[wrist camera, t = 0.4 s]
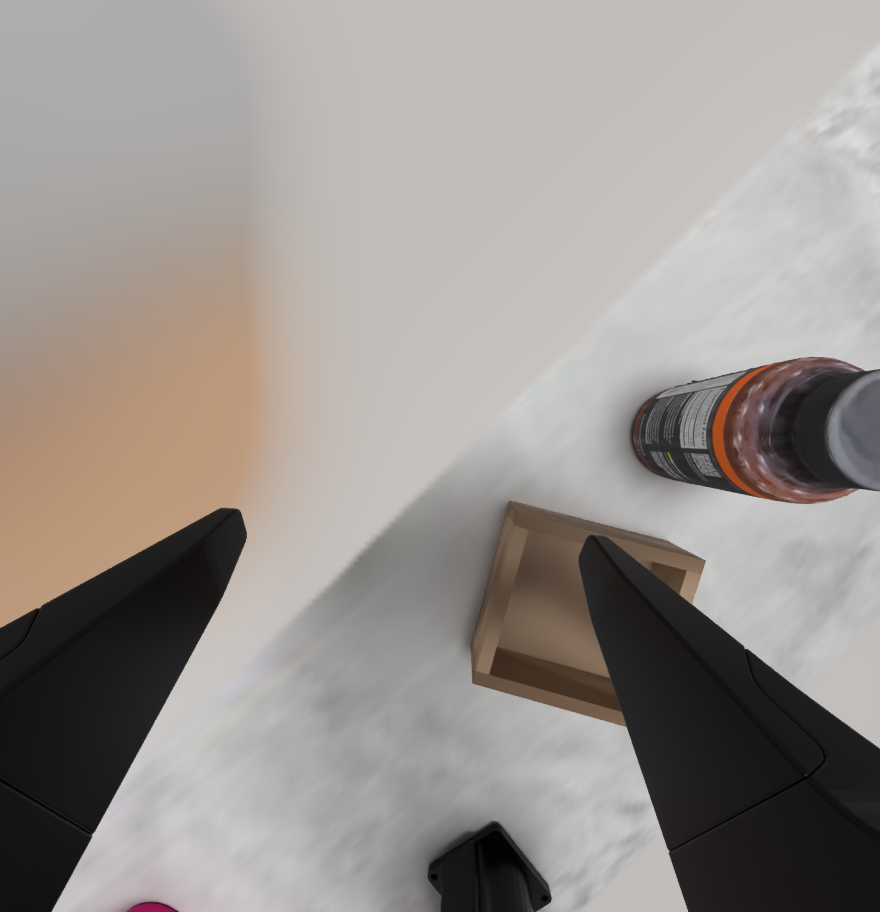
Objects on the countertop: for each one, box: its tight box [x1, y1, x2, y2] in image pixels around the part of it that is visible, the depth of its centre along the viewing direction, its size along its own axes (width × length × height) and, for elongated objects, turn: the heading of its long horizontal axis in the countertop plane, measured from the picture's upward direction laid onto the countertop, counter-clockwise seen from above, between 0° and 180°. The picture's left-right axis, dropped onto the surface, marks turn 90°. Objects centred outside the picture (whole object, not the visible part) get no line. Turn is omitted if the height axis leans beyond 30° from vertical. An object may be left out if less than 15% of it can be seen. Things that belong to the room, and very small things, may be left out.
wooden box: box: [471, 501, 705, 727], centre depth 21 cm, size 11×11×4 cm
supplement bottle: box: [633, 357, 880, 504], centre depth 16 cm, size 6×6×11 cm
